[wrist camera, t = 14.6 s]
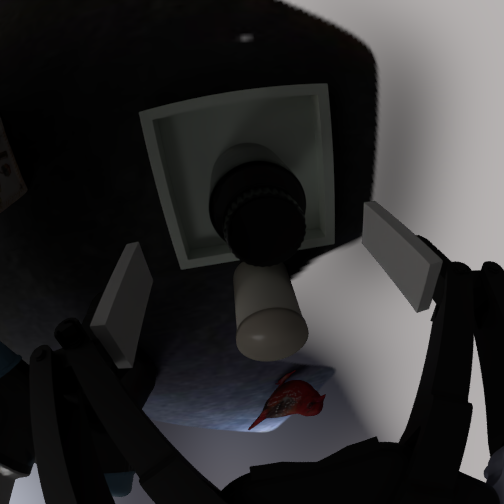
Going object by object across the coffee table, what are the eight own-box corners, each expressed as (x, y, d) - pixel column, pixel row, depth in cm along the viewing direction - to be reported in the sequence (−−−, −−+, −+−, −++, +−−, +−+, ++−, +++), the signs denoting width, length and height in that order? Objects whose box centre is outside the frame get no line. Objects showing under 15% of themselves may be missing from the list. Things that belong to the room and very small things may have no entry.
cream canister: (236, 303, 36) (242, 365, 28) (227, 258, 32) (230, 320, 24) (290, 294, 36) (308, 354, 28) (287, 249, 33) (308, 307, 24)
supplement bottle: (294, 189, 28) (337, 254, 18) (232, 220, 29) (241, 299, 19) (264, 127, 24) (297, 155, 14) (197, 162, 25) (182, 214, 15)
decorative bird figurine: (319, 356, 44) (335, 408, 35) (251, 404, 50) (256, 449, 42) (307, 351, 43) (322, 405, 34) (239, 400, 49) (243, 447, 41)
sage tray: (183, 254, 32) (181, 269, 29) (147, 109, 23) (138, 112, 21) (325, 230, 32) (334, 243, 29) (316, 83, 23) (327, 83, 21)
